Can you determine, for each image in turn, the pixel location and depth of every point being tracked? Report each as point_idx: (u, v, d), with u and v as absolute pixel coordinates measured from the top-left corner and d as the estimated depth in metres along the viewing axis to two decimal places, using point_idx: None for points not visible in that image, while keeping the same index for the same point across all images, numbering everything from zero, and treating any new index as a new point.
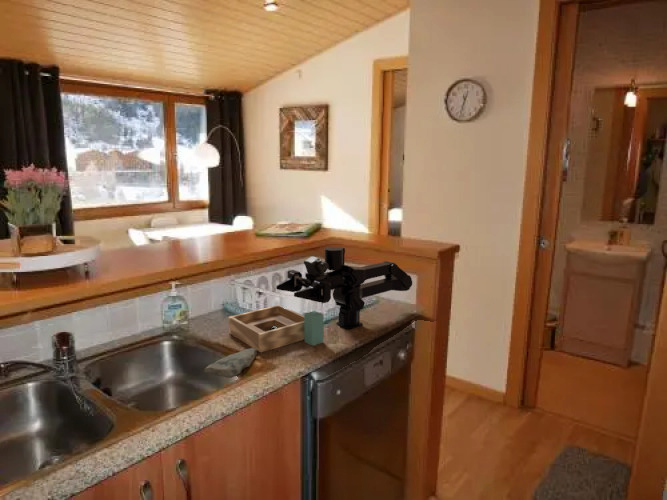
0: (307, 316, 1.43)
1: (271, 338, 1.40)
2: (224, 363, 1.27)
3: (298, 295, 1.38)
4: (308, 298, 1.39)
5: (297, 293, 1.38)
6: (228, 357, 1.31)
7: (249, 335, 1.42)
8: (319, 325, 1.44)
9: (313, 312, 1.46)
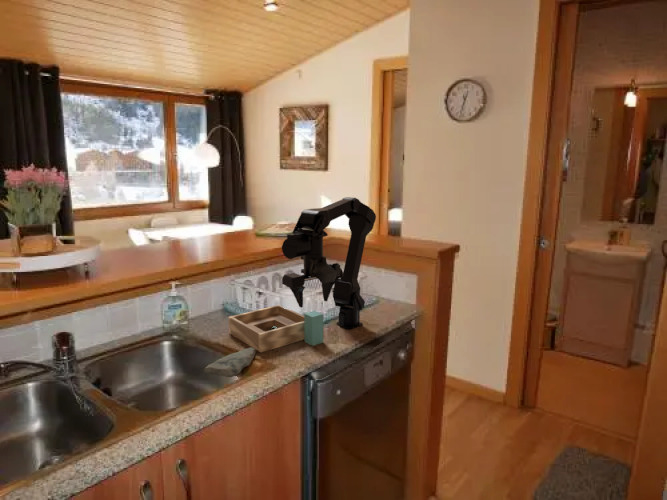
0: (307, 316, 1.43)
1: (271, 338, 1.40)
2: (224, 363, 1.27)
3: None
4: None
5: None
6: (227, 357, 1.31)
7: (249, 335, 1.42)
8: (319, 325, 1.44)
9: (313, 312, 1.46)
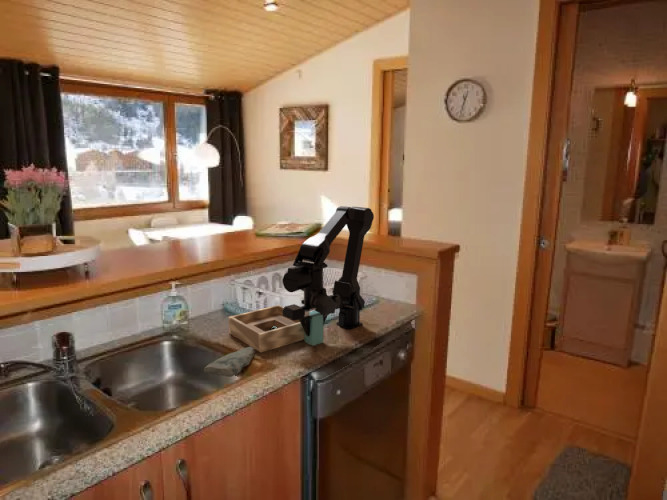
0: None
1: (271, 338, 1.40)
2: (224, 362, 1.27)
3: None
4: None
5: None
6: (227, 356, 1.31)
7: (249, 335, 1.42)
8: (319, 325, 1.44)
9: (313, 311, 1.46)
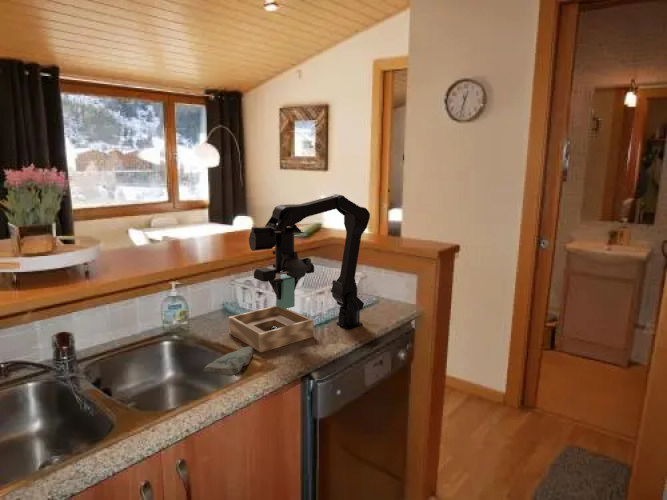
0: None
1: (271, 338, 1.40)
2: (223, 362, 1.27)
3: None
4: None
5: None
6: (226, 356, 1.32)
7: (249, 335, 1.42)
8: (290, 289, 1.45)
9: (284, 276, 1.47)
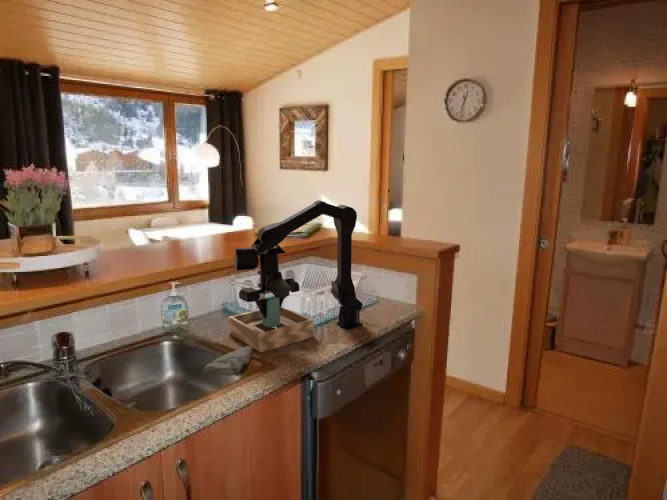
0: None
1: (271, 338, 1.40)
2: (223, 361, 1.28)
3: None
4: None
5: None
6: (226, 356, 1.32)
7: (249, 335, 1.42)
8: (275, 308, 1.48)
9: (270, 295, 1.50)
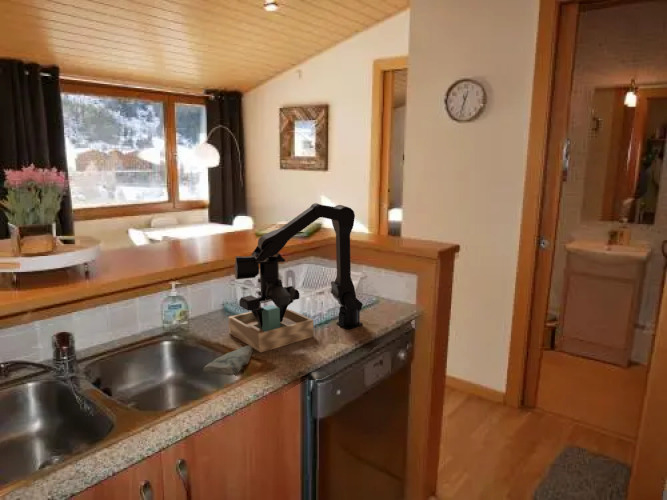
0: (264, 310, 1.49)
1: (271, 338, 1.40)
2: (223, 361, 1.28)
3: None
4: None
5: None
6: (226, 355, 1.32)
7: (249, 335, 1.42)
8: (275, 318, 1.49)
9: (270, 306, 1.51)
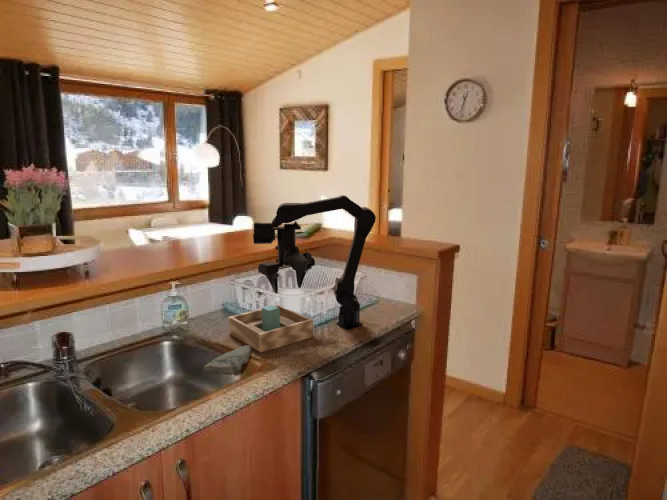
0: (264, 310, 1.49)
1: (271, 338, 1.40)
2: (223, 361, 1.28)
3: None
4: None
5: None
6: (225, 355, 1.32)
7: (249, 335, 1.42)
8: (275, 318, 1.49)
9: (270, 306, 1.51)
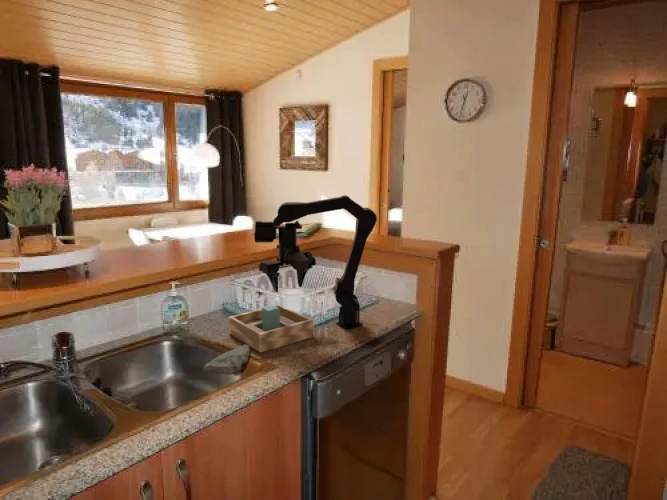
0: (264, 310, 1.49)
1: (271, 338, 1.40)
2: (223, 360, 1.28)
3: None
4: None
5: None
6: (224, 355, 1.32)
7: (249, 335, 1.42)
8: (275, 318, 1.49)
9: (270, 306, 1.51)
